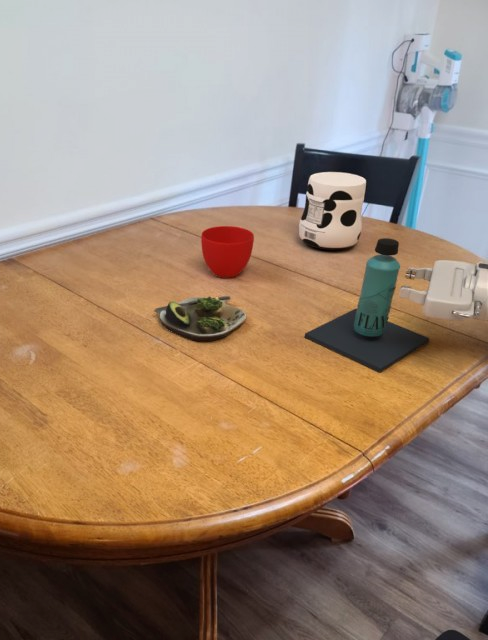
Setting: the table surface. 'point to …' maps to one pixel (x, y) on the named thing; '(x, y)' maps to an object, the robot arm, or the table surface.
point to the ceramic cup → (226, 249)
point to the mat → (367, 342)
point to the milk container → (332, 210)
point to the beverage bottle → (377, 289)
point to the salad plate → (201, 318)
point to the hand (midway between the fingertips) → (403, 281)
